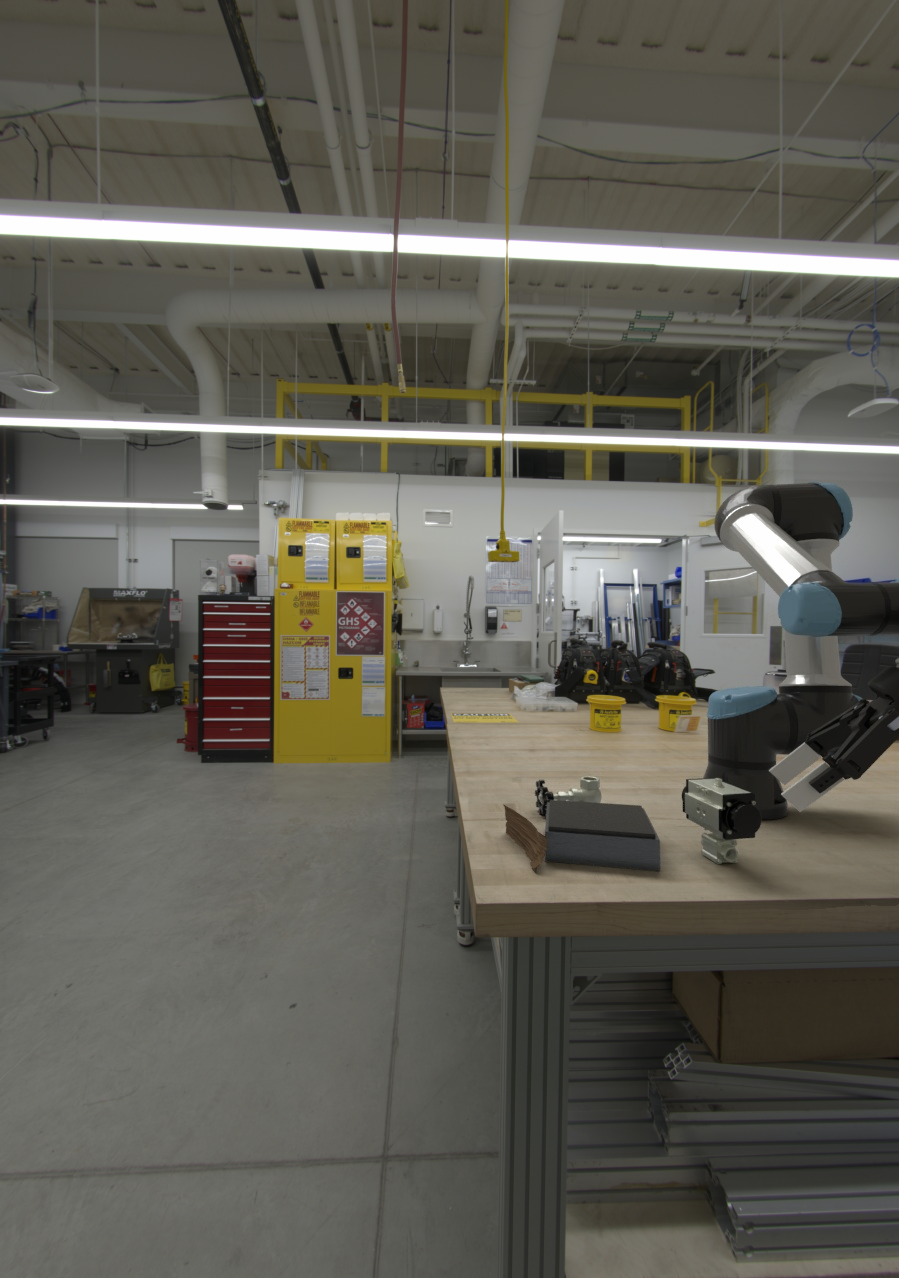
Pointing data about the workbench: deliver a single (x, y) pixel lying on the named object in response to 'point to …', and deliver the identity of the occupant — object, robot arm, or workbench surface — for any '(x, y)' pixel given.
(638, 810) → the stand
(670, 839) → the workbench surface
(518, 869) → the workbench surface
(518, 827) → the wood plank
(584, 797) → the valve
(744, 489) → the robot arm
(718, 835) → the pneumatic valve
